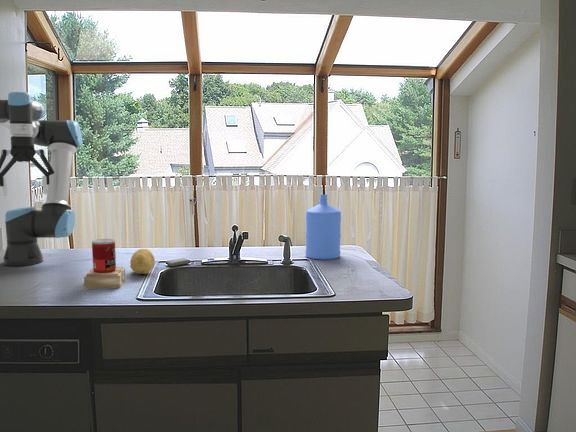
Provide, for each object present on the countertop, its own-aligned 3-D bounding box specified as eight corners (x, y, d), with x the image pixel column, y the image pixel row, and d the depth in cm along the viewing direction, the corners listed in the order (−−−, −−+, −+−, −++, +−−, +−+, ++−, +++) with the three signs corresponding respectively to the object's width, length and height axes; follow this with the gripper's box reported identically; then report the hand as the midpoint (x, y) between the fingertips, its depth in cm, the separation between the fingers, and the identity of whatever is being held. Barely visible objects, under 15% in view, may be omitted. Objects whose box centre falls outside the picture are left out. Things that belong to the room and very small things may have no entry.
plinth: (91, 280, 203) (91, 267, 202) (125, 279, 205) (124, 266, 204) (84, 289, 191) (83, 275, 191) (120, 287, 193) (119, 274, 192)
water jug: (339, 260, 239) (340, 197, 235) (303, 259, 241) (303, 196, 237) (341, 253, 254) (342, 193, 250) (307, 252, 256) (308, 192, 253)
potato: (160, 269, 221) (159, 246, 220) (147, 278, 207) (147, 253, 205) (136, 268, 222) (135, 245, 221) (122, 277, 208) (121, 253, 206)
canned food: (109, 273, 193) (108, 242, 191) (88, 272, 194) (87, 242, 193) (120, 268, 200) (119, 239, 199) (100, 267, 202) (98, 238, 200)
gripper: (-15, 135, 187) (-11, 197, 190) (61, 136, 202) (63, 193, 205) (-19, 135, 193) (-15, 195, 196) (55, 136, 208) (58, 191, 211)
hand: (25, 194), depth 200 cm, fingers open, 13 cm apart
